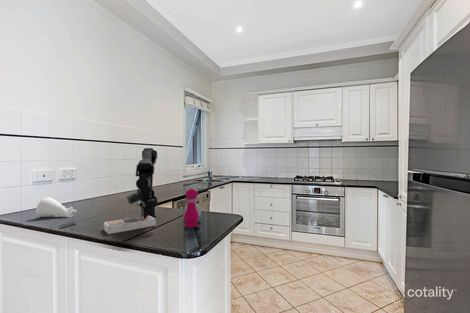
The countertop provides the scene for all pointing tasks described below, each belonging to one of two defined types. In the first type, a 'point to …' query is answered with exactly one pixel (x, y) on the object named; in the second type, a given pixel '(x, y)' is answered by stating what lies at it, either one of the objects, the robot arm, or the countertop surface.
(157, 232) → the countertop surface
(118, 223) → the key
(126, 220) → the middle key
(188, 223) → the pepper mill
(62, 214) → the rocket engine
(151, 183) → the robot arm
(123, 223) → the compartment tray
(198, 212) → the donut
